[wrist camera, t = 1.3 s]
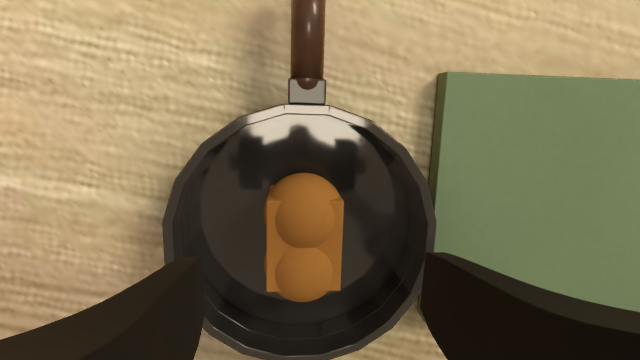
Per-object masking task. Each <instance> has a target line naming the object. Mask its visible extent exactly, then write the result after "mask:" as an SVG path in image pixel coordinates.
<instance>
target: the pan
mask: <svg viewBox="0 0 640 360" xmlns="http://www.w3.org/2000/svg"><path fill="white" fill-rule="evenodd" d="M296 173H311V174H316V175H318V176H321V177H323V178H324V179H326V180H327V181H329V182H330V183H331V184H332V185H333V186H334V187H335V188H336V190H337V191H338V193H339V195H340V196H341V198H342V200H343V201H344V213H343V237H342V260H341V283H340V291H329V292H327V293H326V294H325V295H324V296H322V297H320V298H318V299H316V300H313V301H309V302H295V301H291V300H289V299H286V298H284V297H282V296H281V295H279V294H278V293H277V292H267V291H266V274H265V270H264V256H265V252H266V224H265V220H264V206H265V201H266V198H267V196H268V192H269V187H270V186H275V184H276V183H278V182H279V181H280V180H282V179H283V178H285V177H287V176H289V175H292V174H296ZM436 222H437V221H436V217H435V213H434V208H433V204H432V200H431V195H430V191H429V187H428V184H427V181H426V180H425V178H424V176H423V175H422V173H421V172H420V170H419V168H418V167H417V165H416V164H415V162H414V160H413V159H412V157H411V156H410V154H409V152H408V151H407V149H406V148H405V147H404V146H403V145H402V144H400V143H399V142H398V141H397V140H395V139H394V138H393V137H392V136H390V135H389V134H388V133H387V132H385V131H384V130H383V129H382V128H381V127H379V126H378V125H377V124H376V123H374V122H373V121H371V120H369V119H366V118H364V117H361V116H358V115H355V114H353V113H350V112H347V111H345V110H342V109H339V108H336V107H334V106H330V105H311V104H281V105H278V106H274V107H271V108H268V109H264V110H261V111H257V112H254V113H251V114H247V115H244V116H241V117H239V118H237V119H235V120H234V121H233V122H231V123H230V124H228V125H227V126H226V127H224V128H223V129H221V130H220V131H218V132H217V133H216V134H214V135H213V136H211V137H210V138H208V139H207V140H206V141H204V142H203V143H202V144H201V145H200V146H199V147H198V149H197V150H196V151H195V153H194V154H193V156H192V157H191V158H190V160H189V161H188V163H187V164H186V165H185V167H184V168H183V169H182V171H181V172H180V174H179V175H178V176H177V178H176V179H175V181H174V184H173V188H172V191H171V194H170V198H169V201H168V204H167V208H166V211H165V215H164V218H163V223H162V226H163V244H164V262H165V266H166V265H167V264H169V263H170V262H172V261H174V260H176V259H177V258H180V257H185V256H202V262H203V290H204V320H203V325H202V328H203V329H204V330H205V331H206V332H207V333H208V334H209V335H211V336H213V337H214V338H216V339H218V340H219V341H221V342H223V343H224V344H226V345H228V346H230V347H231V348H233V349H235V350H236V351H238V352H240V353H241V354H242V353H243V354H244V355H248V356H252V357H256V358H260V359H264V360H330V359H333V358H337V357H340V356H343V355H346V354H349V353H352V352H355V351H358V350H360V349H362V348H363V347H365V346H366V345H368V344H369V343H371V342H372V341H374V340H375V339H377V338H378V337H380V336H381V335H383V334H384V333H386V332H387V331H389V330H390V329H392V328H393V327H394V326H395V324H396V323H397V322H398V321H399V320H400V318H401V317H402V316H403V315H404V314H405V313H406V311H407V310H408V309H409V308H410V307H411V305H412V304H413V303H414V302H415V301H416V299H417V298H418V296H419V294H420V292H421V289H422V283H423V274H424V265H425V256H426V252H434V247H435V236H436V225H437V223H436Z"/></svg>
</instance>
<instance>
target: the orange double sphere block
mask: <svg viewBox="0 0 640 360" xmlns="http://www.w3.org/2000/svg"><path fill="white" fill-rule="evenodd" d="M343 213H344V201H343V200H342V198H341V196H340V195H339V193H338V191H337V190H336V188H335V187H334V186H333V185H332V184H331V183H330V182H329V181H327V180H326V179H324V178H323V177H321V176H318V175H316V174H311V173H296V174H292V175H289V176H287V177H285V178H283V179H282V180H280V181H279V182H278V183H276V184H275V186H270V187H269V192H268V196H267V198H266V201H265V206H264V220H265V224H266V252H265V256H264V270H265V274H266V291H267V292H277V293H278V294H279V295H281V296H282V297H284V298H286V299H289V300H291V301H295V302H309V301H313V300H316V299H318V298H320V297H322V296H324V295H325V294H326V293H327V292H329V291H340V283H341V260H342V237H343Z"/></svg>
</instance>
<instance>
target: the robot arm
mask: <svg viewBox="0 0 640 360" xmlns="http://www.w3.org/2000/svg"><path fill="white" fill-rule="evenodd" d="M420 310H421V312H422V314H423V317H424V319H425V321H426V324H427V326H428V328H429V330H430V332H431V334H432V336H433V337H434V339H435V341H436V342H437V344H438V345H439V347H440V349H441V350H442V352H443V353H444V355H445V356H446V358H447V360H640V312H637V311H632V310H626V309H621V308H616V307H612V306H607V305H603V304H598V303H594V302H589V301H585V300H581V299H577V298H574V297H570V296H567V295H563V294H560V293H556V292H553V291H549V290H546V289H543V288H540V287H537V286H534V285H531V284H528V283H526V282H523V281H520V280H517V279H515V278H512V277H509V276H507V275H504V274H502V273H499V272H497V271H494V270H492V269H489V268H487V267H484V266H482V265H479V264H477V263H474V262H472V261H469V260H467V259H464V258H461V257H459V256H456V255H453V254H449V253H445V252H426V256H425V265H424V274H423V283H422V292H421V301H420ZM203 320H204V290H203V262H202V256H185V257H180V258H177V259H176V260H174V261H172V262H170V263H169V264H167V265H166V266H164V267H162V268H161V269H159V270H157V271H156V272H154V273H153V274H151V275H149V276H148V277H146V278H145V279H143V280H141V281H140V282H138V283H136V284H134V285H132V286H131V287H129V288H127V289H125V290H123V291H122V292H120V293H118V294H116V295H114V296H113V297H111V298H109V299H107V300H105V301H103V302H101V303H98V304H96V305H94V306H92V307H90V308H87V309H85V310H83V311H81V312H78V313H76V314H74V315H71V316H69V317H66V318H63V319H61V320H58V321H55V322H52V323H50V324H47V325H44V326H41V327H39V328H36V329H33V330H30V331H27V332H24V333H21V334H18V335H15V336H11V337H8V338H5V339H2V340H0V360H193V359H194V356H195V353H196V350H197V347H198V344H199V339H200V335H201V330H202V325H203Z"/></svg>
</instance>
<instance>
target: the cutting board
mask: <svg viewBox="0 0 640 360" xmlns="http://www.w3.org/2000/svg"><path fill="white" fill-rule="evenodd" d="M429 191H430V195H431V200H432V204H433V208H434V213H435V217H436V221H437V222H436V223H437V225H436V236H435V247H434V252H445V253H449V254H453V255H456V256H459V257H461V258H464V259H467V260H469V261H472V262H474V263H477V264H479V265H482V266H484V267H487V268H489V269H492V270H494V271H497V272H499V273H502V274H504V275H507V276H509V277H512V278H515V279H517V280H520V281H523V282H526V283H528V284H531V285H534V286H537V287H540V288H543V289H546V290H549V291H553V292H556V293H560V294H563V295H567V296H570V297H574V298H577V299H581V300H585V301H589V302H594V303H598V304H603V305H607V306H612V307H616V308H621V309H626V310H632V311H637V312H640V80H632V79H608V78H584V77H559V76H535V75H511V74H486V73H462V72H445V73H441V74H439V75H438V86H437V97H436V109H435V120H434V132H433V143H432V154H431V166H430V177H429ZM421 292H422V289H421ZM421 292H420V294H419V302H418V312H419V314H420V315H421V317H422V319H423V320H424V321H425V319H424V317H423V314H422V312H421V310H420V301H421Z"/></svg>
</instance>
